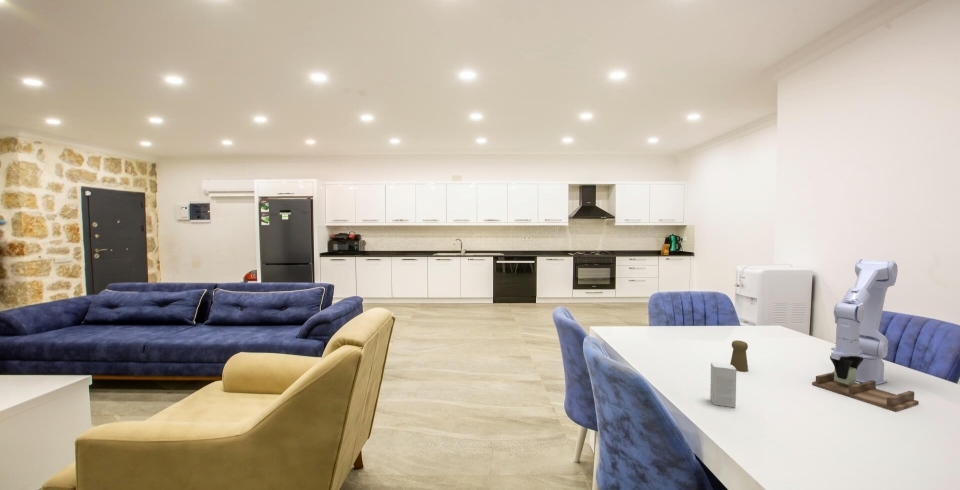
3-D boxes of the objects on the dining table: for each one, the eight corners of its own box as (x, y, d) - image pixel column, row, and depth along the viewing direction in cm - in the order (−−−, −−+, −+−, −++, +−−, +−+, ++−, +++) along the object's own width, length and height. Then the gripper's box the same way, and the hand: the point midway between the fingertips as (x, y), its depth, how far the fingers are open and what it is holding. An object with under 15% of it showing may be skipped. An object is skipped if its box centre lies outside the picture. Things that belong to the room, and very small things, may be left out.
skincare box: (731, 402, 118) (732, 364, 118) (735, 408, 114) (737, 369, 114) (709, 399, 120) (710, 362, 120) (712, 405, 116) (714, 366, 116)
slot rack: (834, 379, 137) (835, 369, 137) (918, 404, 118) (919, 393, 118) (812, 384, 132) (812, 375, 132) (895, 411, 113) (896, 400, 113)
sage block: (840, 378, 132) (841, 364, 132) (855, 383, 128) (856, 368, 128) (833, 380, 130) (834, 366, 130) (848, 384, 127) (849, 370, 127)
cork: (751, 372, 143) (752, 344, 143) (733, 371, 144) (734, 342, 144) (743, 366, 149) (744, 339, 149) (726, 365, 150) (727, 338, 150)
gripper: (844, 333, 135) (842, 370, 135) (820, 337, 130) (819, 376, 130) (870, 338, 128) (868, 377, 129) (847, 343, 123) (845, 383, 124)
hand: (845, 377), depth 129 cm, fingers closed on sage block, 4 cm apart
